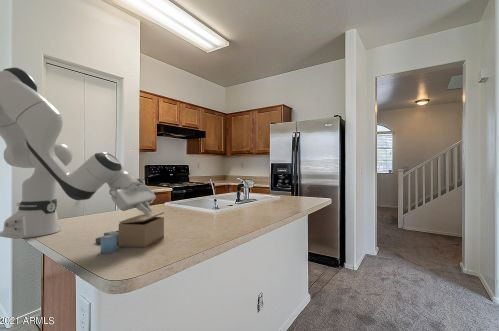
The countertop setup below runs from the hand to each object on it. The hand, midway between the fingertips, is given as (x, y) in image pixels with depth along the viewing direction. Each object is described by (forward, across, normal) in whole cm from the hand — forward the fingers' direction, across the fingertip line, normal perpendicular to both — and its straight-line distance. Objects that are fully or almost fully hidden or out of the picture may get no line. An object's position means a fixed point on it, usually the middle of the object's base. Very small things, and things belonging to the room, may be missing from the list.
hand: (149, 212), depth 96 cm
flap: (0, 0, +3) cm, 3 cm away
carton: (+6, 0, +9) cm, 11 cm away
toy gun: (-2, +5, +19) cm, 19 cm away
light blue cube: (+2, -12, +13) cm, 18 cm away
